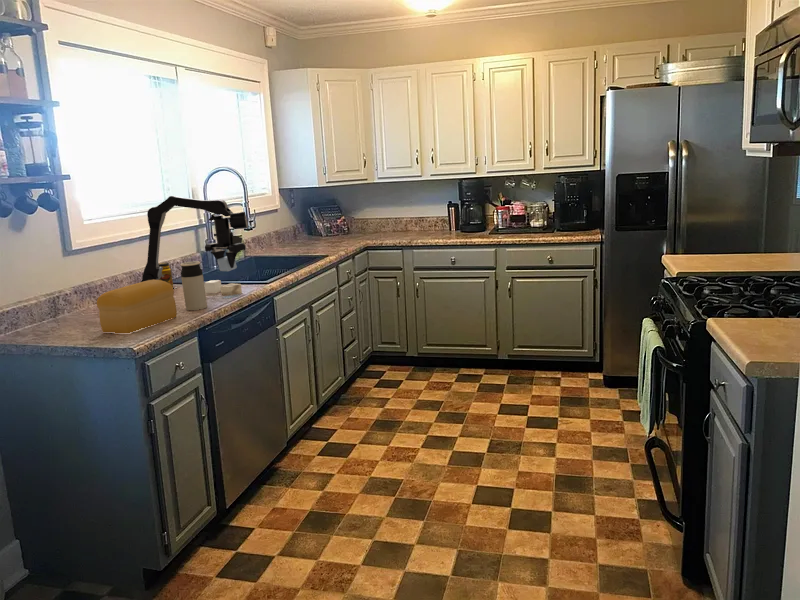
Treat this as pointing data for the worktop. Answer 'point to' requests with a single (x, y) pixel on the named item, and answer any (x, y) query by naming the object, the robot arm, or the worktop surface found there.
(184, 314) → the worktop surface
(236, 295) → the tile
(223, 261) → the blue cube
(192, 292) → the travel mug
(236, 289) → the birch block
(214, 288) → the cream cube
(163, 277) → the condiment
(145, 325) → the bread
